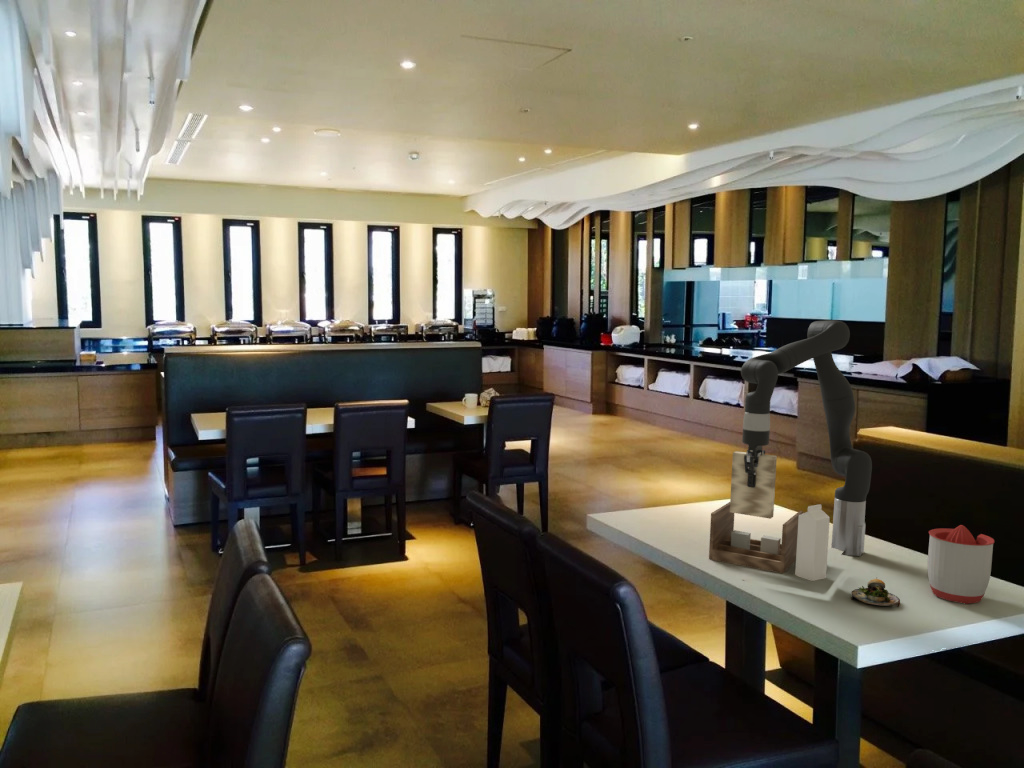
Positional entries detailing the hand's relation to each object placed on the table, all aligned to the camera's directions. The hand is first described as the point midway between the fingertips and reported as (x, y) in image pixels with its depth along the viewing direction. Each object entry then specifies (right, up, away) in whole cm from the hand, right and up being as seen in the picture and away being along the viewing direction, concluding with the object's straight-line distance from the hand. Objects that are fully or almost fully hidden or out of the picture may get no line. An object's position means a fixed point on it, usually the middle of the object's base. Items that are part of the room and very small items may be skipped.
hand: (753, 485), depth 240 cm
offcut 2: (+6, -23, +5) cm, 24 cm away
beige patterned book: (0, -9, +1) cm, 9 cm away
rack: (+3, -24, +8) cm, 26 cm away
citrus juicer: (+50, -28, -18) cm, 60 cm away
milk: (+14, -26, -9) cm, 31 cm away
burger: (+26, -28, -23) cm, 45 cm away
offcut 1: (-1, -22, +10) cm, 24 cm away
